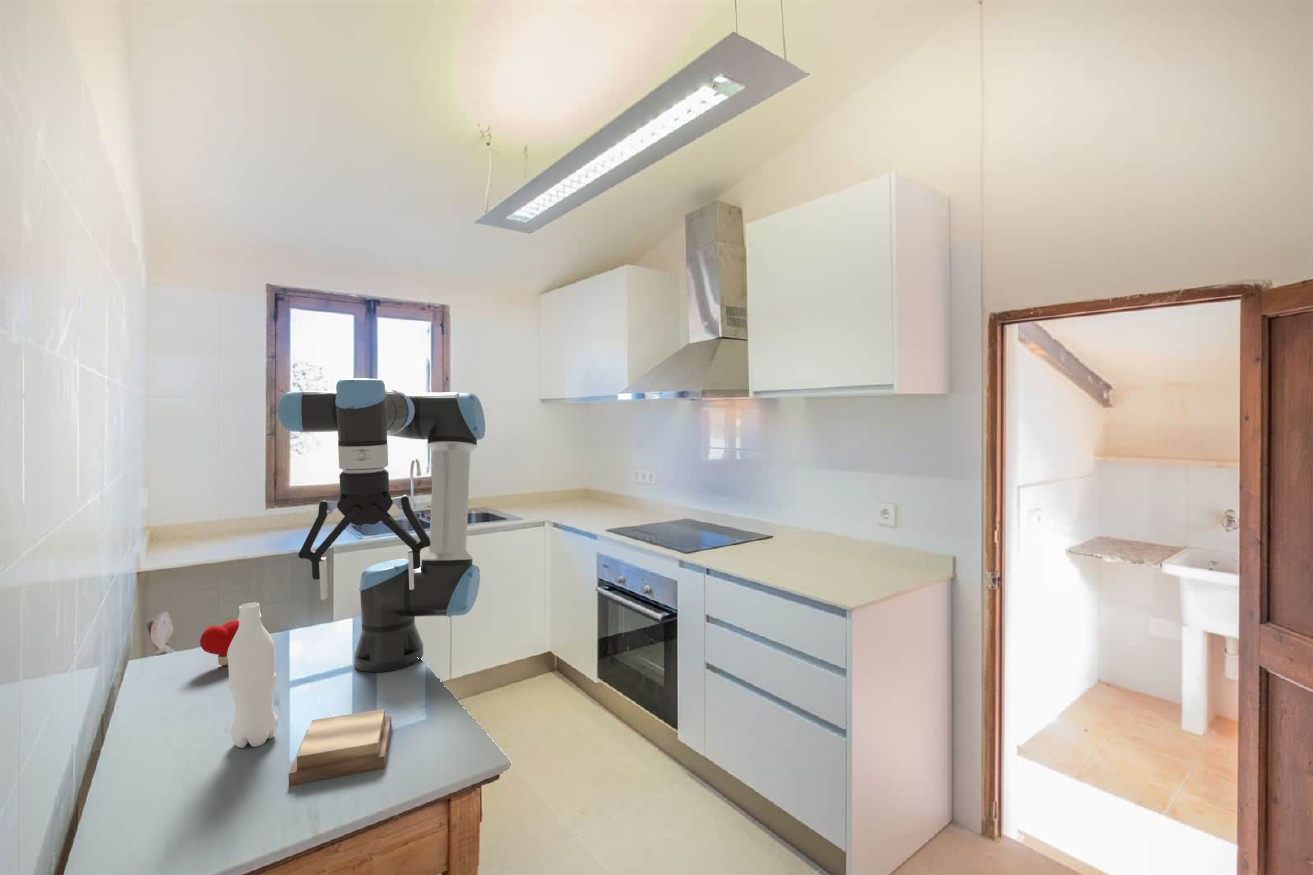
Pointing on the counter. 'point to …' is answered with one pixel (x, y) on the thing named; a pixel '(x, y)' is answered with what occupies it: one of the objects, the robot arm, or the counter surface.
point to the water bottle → (252, 679)
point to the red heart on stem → (219, 640)
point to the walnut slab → (343, 763)
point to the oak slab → (342, 738)
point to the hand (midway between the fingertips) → (369, 592)
